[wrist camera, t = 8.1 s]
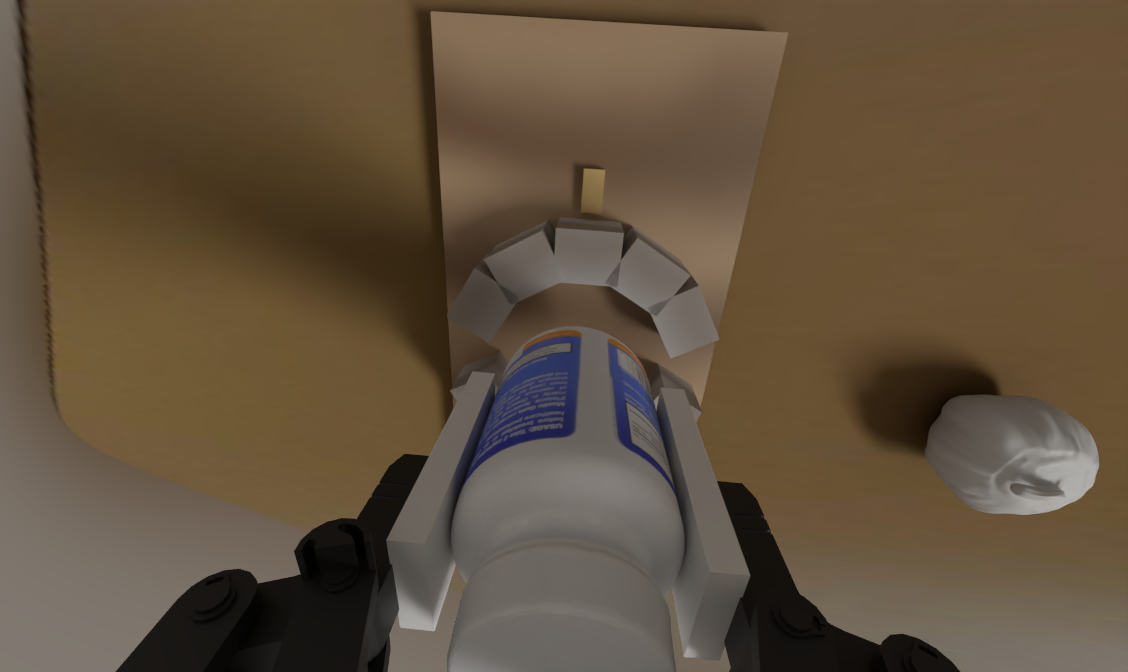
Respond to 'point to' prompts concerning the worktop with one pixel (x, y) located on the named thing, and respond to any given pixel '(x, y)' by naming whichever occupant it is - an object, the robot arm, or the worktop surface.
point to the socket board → (595, 183)
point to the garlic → (1011, 454)
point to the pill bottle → (568, 517)
